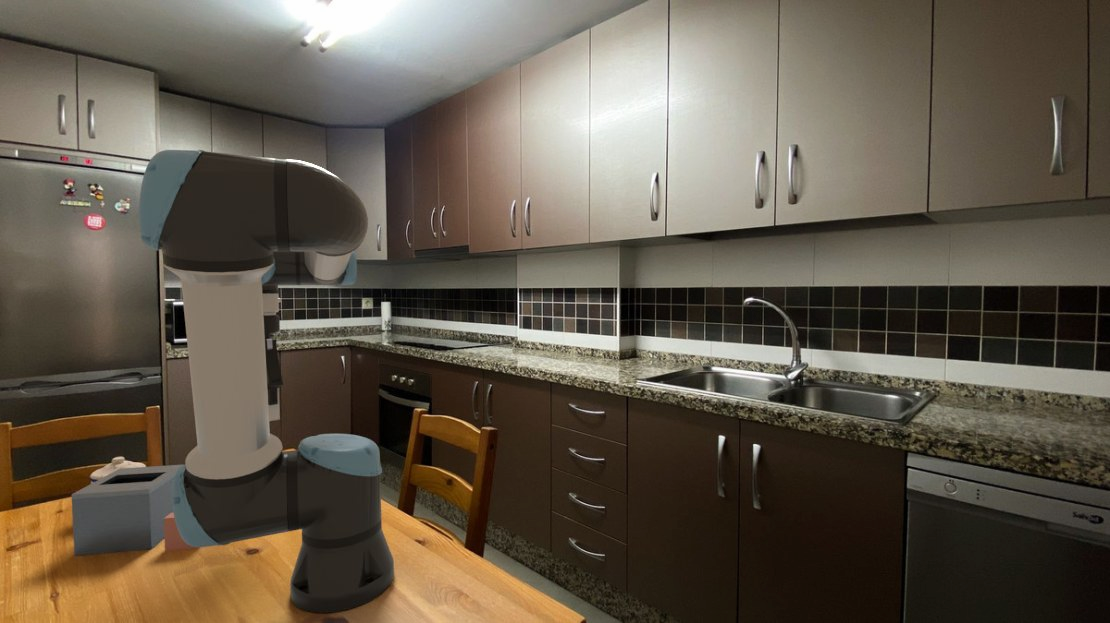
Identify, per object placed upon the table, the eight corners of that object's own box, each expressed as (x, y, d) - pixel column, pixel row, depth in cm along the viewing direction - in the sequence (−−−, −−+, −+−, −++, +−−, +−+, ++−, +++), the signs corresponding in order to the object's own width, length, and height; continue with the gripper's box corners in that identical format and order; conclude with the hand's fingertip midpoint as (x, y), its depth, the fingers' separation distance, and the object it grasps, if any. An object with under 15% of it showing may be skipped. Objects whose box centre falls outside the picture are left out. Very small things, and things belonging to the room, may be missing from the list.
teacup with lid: (157, 507, 109) (155, 454, 108) (106, 526, 100) (103, 468, 100) (125, 498, 114) (123, 447, 113) (73, 515, 105) (71, 460, 105)
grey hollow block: (151, 549, 91) (149, 489, 91) (74, 555, 89) (71, 494, 89) (189, 517, 104) (187, 464, 104) (122, 522, 102) (120, 468, 101)
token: (199, 548, 92) (198, 515, 92) (165, 551, 91) (163, 518, 91) (205, 541, 94) (204, 510, 94) (172, 544, 93) (171, 512, 93)
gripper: (298, 315, 100) (301, 421, 101) (261, 312, 118) (264, 402, 119) (255, 316, 95) (259, 429, 96) (223, 313, 113) (227, 408, 113)
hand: (262, 414), depth 107 cm, fingers open, 13 cm apart
